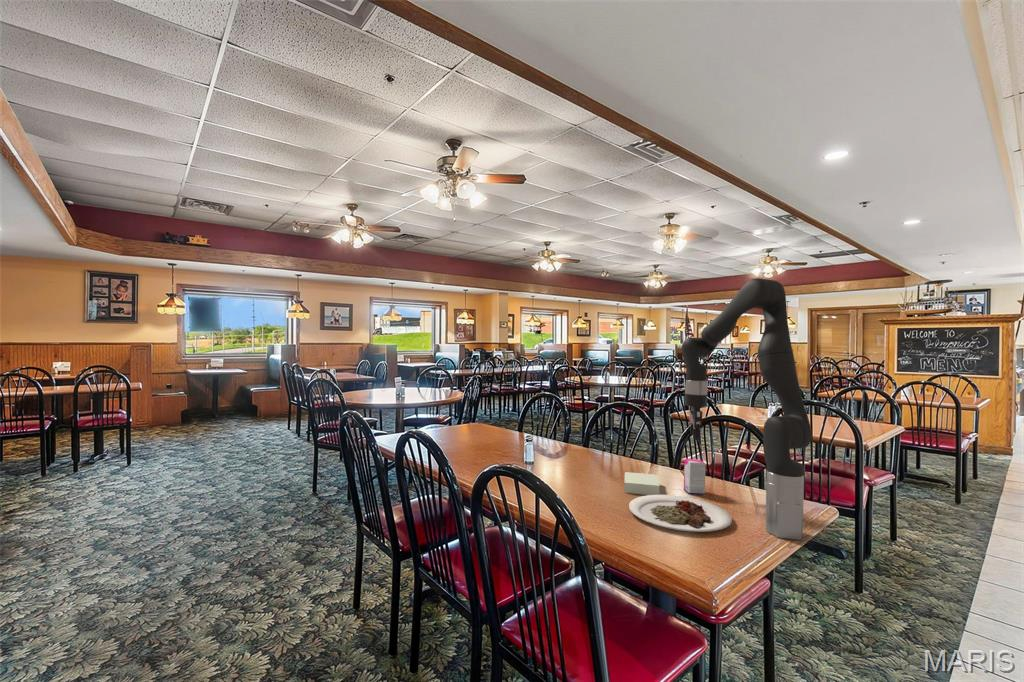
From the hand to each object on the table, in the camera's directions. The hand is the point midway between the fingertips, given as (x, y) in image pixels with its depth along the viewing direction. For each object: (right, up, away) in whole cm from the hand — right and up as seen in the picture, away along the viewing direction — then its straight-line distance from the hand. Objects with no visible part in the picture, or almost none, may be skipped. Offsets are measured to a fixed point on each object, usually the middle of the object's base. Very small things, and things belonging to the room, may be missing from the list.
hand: (695, 437), depth 166 cm
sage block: (-19, -20, +3) cm, 27 cm away
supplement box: (0, -20, 0) cm, 20 cm away
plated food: (-15, -20, -23) cm, 34 cm away
